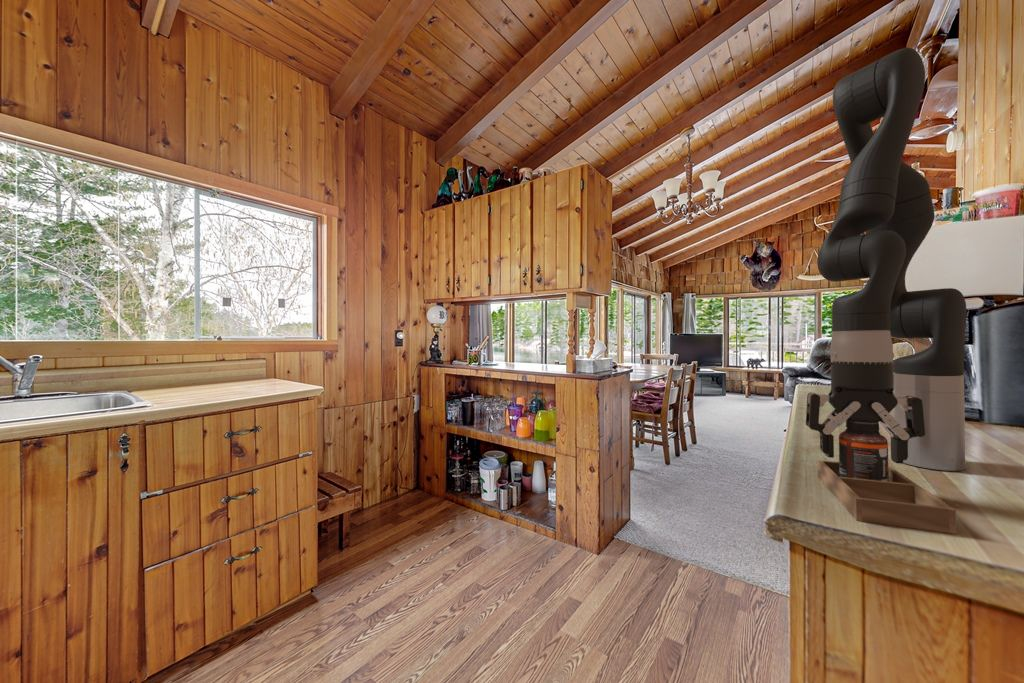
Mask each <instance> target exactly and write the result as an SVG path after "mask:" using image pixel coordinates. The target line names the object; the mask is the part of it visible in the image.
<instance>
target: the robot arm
mask: <svg viewBox="0 0 1024 683" xmlns="http://www.w3.org/2000/svg"><path fill="white" fill-rule="evenodd" d="M925 83H926V69H925V65H924V61H923V59H922V57H921V55H920V54H919V52H918V51H917V50H916V49H914V48H912V47H903V48H901V49H897V50H895V51H893V52H891V53H888V54H886V55H885V56H882V57H880V58H879V59H876V60H875V61H873V62H870V63H869V64H868V65H866V66H863V67H861V68H859V69H858V70H856V71H853V72H852V73H850V74H847V75H846V76H844V77H842V78H841V79H839V81H837V82H836V83H835V85H834V88H833V92H832V104H833V111H834V114H835V117H836V122H837V125H838V128H839V131H840V135H841V137H842V139H843V140H842V141H843V142H844V146H845V148H846V151H847V154H848V158H849V160H850V165H849V168H848V169H847V171H846V172H845V175H844V176H843V179H842V183H841V186H840V187H841V188H840V192H839V193H840V194H839V201H838V207H837V214H836V215H835V216H836V217H835V218H834V221H833V222H832V224H831V226H830V229H829V230H828V233H827V234H826V237H825V238H824V240H823V242H822V244H821V246H820V249H819V252H818V255H817V258H816V260H817V261H816V262H817V263H816V264H817V270H818V272H819V274H820V275H821V277H823V278H824V280H826V281H829V282H847V281H855V280H862V279H863V280H864V279H868V280H867V282H866V284H865V285H864V287H863V288H861V289H860V290H858V291H854V292H852V293H849V294H844V295H841V296H837V298H835V299H834V300H833V302H832V304H831V329H832V332H831V339H830V340H831V341H830V392H829V393H828V394H820V393H814V392H808V393H807V396H806V397H807V398H806V410H805V426H807V427H808V428H809V429H810V430H812V431H816V432H818V433H819V448H820V451H821V452H822V454H824V455H825V456H826V457H827V458H832V459H833V458H835V457H834V456H835V443H834V442H835V440H834V439H835V438H834V437H835V436H834V435H833V433H834V431H836V429H837V428H838V427H840V426H842V425H843V424H844V423H846V420H848V421H851V422H863V421H865V422H870V423H877V422H878V423H879V424H881V425H883V427H885V428H886V429H887V430H888V431H889V432H890V434H892V436H890V459H891V461H892V462H894V463H895V464H901V465H902V464H906V465H911V466H914V467H919V468H924V469H930V470H937V471H951V472H952V471H955V472H957V471H958V472H959V471H963V470H965V469H966V423H965V422H966V419H965V418H966V415H965V414H966V413H965V412H966V411H965V379H964V378H965V375H964V372H965V370H964V368H965V367H964V366H965V358H966V357H965V355H966V352H965V351H966V350H965V349H966V347H965V346H966V345H965V343H966V329H967V328H966V327H967V312H968V309H967V302H966V299H965V296H964V295H963V293H962V291H960V290H958V289H956V288H953V287H952V288H951V287H948V288H946V287H945V288H936V289H935V288H934V289H933V288H932V289H925V290H913V291H908V290H907V287H906V275H907V270H908V268H909V266H910V263H911V261H912V259H913V258H914V255H915V254H916V253H917V251H918V250H919V248H920V246H921V244H922V243H923V242H924V240H925V239H926V237H927V235H928V234H929V232H930V230H931V228H932V225H934V224H933V223H934V221H935V211H934V209H935V208H934V204H933V199H932V192H931V188H930V184H929V181H928V180H927V179H926V178H925V177H924V175H923V174H921V173H920V172H919V171H918V170H916V169H915V168H914V167H912V166H910V165H909V164H908V163H906V162H904V161H903V156H904V153H905V150H906V146H907V144H908V141H909V139H910V136H911V133H912V130H913V127H914V124H915V121H916V118H917V114H918V111H919V108H920V104H921V101H922V98H923V94H924V89H925ZM879 119H882V120H881V122H880V123H879V125H878V127H877V128H876V130H875V132H874V130H873V128H872V124H871V123H872V122H875V121H877V120H879ZM892 338H895V339H932V341H931V345H930V346H929V347H927V348H926V349H923V350H921V351H919V352H917V353H912V354H908V355H905V356H904V355H903V356H899V357H896V358H895V352H894V346H893V345H894V344H893V339H892ZM894 358H895V359H894ZM827 402H828V403H829V404H830V405H831V407H832V408H834V409H833V410H832V411H831V412H830V413H829V414H828V415H827V416H826V418H825V419H824V420H823V421H822V423H820V422H819V421H820V408H822V407H824V406H825V403H827ZM893 410H894V411H893ZM892 411H893V415H894V416H892V414H890V413H891V412H892Z"/></svg>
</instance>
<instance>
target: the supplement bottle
mask: <svg viewBox="0 0 1024 683" xmlns="http://www.w3.org/2000/svg"><path fill="white" fill-rule="evenodd" d="M845 427H846V429H845V430H843V431H842V432H840V433H839V435H838V462H839V470H840V477H847V478H857V479H867V480H877V481H887V482H889V470H888V466H889V443H888V439H887V438H886V437H885V436H884V435H882V434H881V432H880V422H877V423H870V422H865V421H863V422H851V421H848V420H846V421H845Z"/></svg>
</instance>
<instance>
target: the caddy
mask: <svg viewBox="0 0 1024 683" xmlns="http://www.w3.org/2000/svg"><path fill="white" fill-rule="evenodd" d="M888 470H889V482H887V481H877V480H867V479H857V478H847V477H840V470H839V461H831V460H821V459H820V460H819V459H817V478H818V479H819V480H820V481H821V482H822V483H823V484H824V485H825V487H826V488H827V489H828V490H829V491H830V493H832V494H833V496H834V497H835V498H836V499H837V500H838V501H839V502H840V503H841V505H842V506H843V508H845V509H846V511H848V513H849V514H850V515H851V516H852V518H854V519H855V521H858V522H865V523H871V524H881V525H887V526H895V527H902V528H907V529H908V528H911V529H915V530H926V531H934V532H937V533H939V532H940V533H947V534H954V535H956V534H957V523H956V522H957V520H956V519H957V518H956V515H957V514H956V513H957V512H956V509H955V508H953V507H951V505H948V504H947V503H945V502H944V501H943V500H941V499H940V498H938V497H937V496H935V495H933V494H932V493H931V492H929V491H927V490H926V489H924V488H923V487H922V486H920V485H918V484H917V483H916V482H914V481H912V480H911V479H909V478H908V477H907V476H905V475H904V474H902V473H900V472H899V471H897V470H896V469H894V468H893V467H892V466H889V465H888Z"/></svg>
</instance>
